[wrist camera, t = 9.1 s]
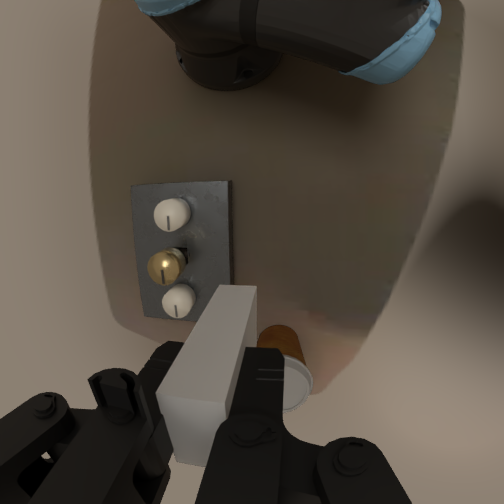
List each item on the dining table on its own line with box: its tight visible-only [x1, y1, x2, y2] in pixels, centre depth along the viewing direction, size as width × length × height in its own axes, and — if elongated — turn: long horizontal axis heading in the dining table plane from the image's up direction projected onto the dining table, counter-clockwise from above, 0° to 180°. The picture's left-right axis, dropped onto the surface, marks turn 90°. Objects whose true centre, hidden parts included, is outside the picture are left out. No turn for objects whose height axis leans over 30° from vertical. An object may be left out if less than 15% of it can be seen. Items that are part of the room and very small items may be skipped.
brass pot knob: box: [147, 247, 186, 285], centre depth 37 cm, size 4×4×6 cm
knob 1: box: [154, 198, 191, 232], centre depth 38 cm, size 4×4×6 cm
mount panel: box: [131, 181, 234, 321], centre depth 41 cm, size 20×14×3 cm
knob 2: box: [162, 283, 196, 318], centre depth 41 cm, size 4×4×6 cm
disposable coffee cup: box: [256, 325, 313, 413], centre depth 39 cm, size 10×10×12 cm
